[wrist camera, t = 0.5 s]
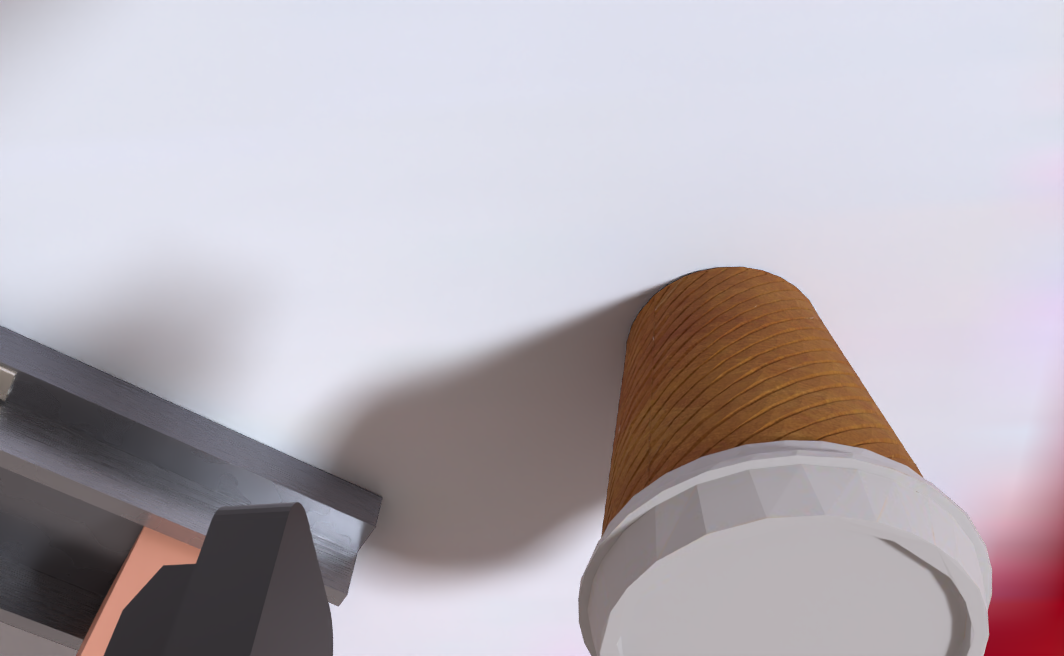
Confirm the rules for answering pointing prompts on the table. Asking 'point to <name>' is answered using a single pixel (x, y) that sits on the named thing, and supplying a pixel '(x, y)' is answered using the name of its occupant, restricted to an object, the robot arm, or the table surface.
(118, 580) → the salmon pink block
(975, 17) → the table surface
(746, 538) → the disposable coffee cup
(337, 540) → the rail base
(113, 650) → the robot arm
